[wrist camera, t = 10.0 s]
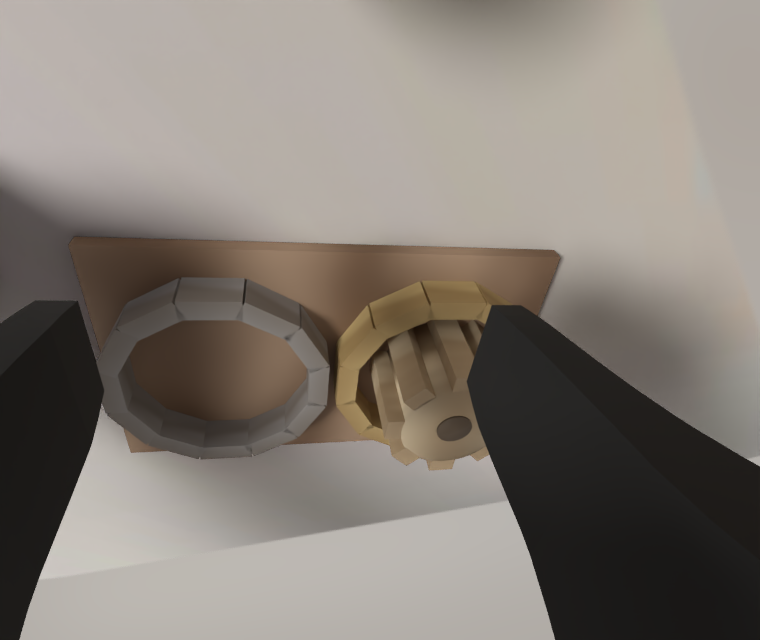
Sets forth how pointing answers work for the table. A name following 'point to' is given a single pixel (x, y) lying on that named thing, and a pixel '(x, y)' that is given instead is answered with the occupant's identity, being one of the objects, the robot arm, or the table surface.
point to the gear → (429, 393)
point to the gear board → (259, 355)
